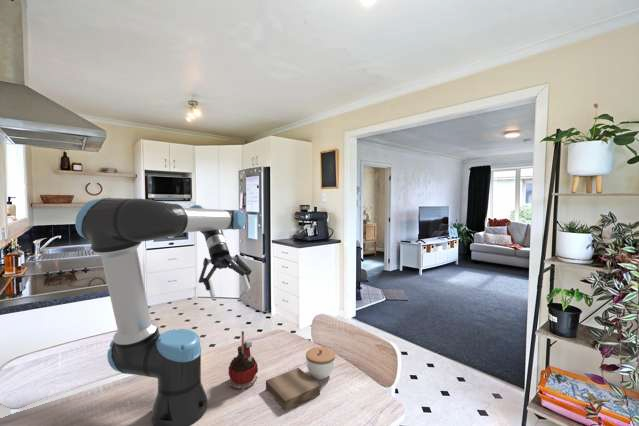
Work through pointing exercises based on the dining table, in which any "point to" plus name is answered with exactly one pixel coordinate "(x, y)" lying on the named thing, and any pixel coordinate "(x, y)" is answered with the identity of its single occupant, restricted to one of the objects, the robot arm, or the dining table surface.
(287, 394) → the plinth
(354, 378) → the dining table surface
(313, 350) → the lidded jar
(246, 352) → the cake
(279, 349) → the dining table surface
